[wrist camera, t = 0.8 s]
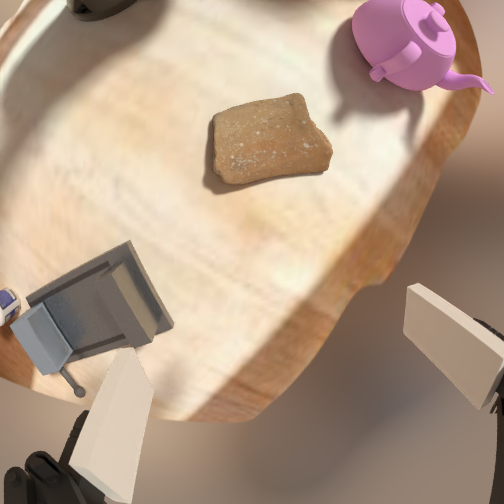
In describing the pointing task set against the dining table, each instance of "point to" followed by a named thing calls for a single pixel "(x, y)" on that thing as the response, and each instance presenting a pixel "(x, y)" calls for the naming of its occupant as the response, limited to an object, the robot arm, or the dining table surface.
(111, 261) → the vise
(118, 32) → the dining table surface
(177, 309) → the dining table surface
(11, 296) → the pill bottle
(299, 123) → the stone
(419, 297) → the robot arm
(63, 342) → the block
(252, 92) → the dining table surface
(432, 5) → the teapot
